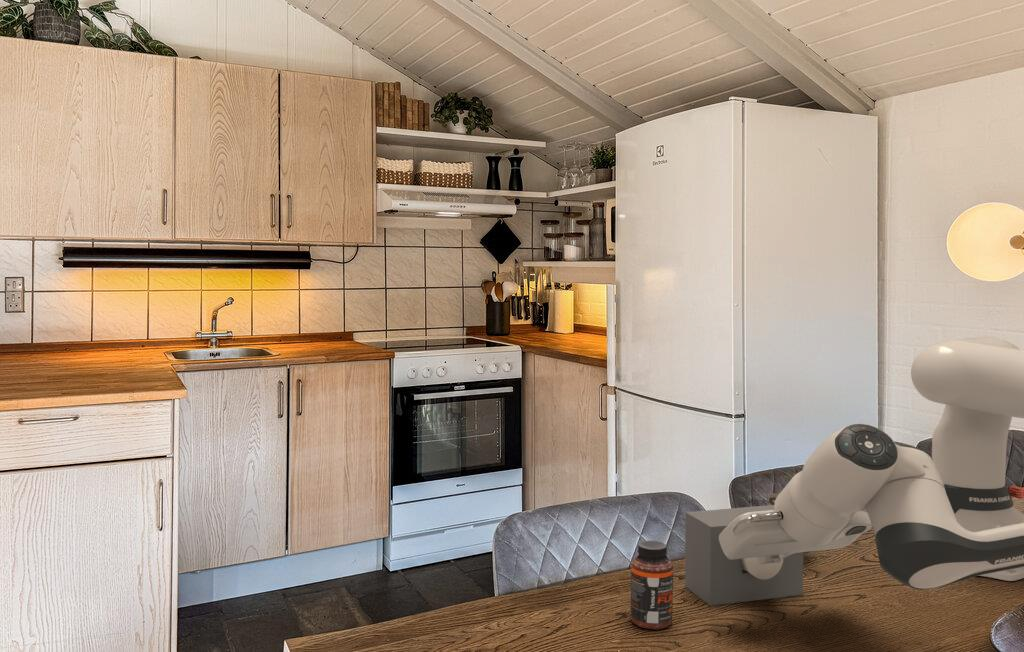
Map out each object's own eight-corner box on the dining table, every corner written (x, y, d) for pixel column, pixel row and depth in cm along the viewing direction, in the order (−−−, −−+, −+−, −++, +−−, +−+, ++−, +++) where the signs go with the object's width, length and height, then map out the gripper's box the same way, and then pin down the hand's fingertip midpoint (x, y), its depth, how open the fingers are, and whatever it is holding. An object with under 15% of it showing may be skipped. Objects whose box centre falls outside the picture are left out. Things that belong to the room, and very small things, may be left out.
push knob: (753, 559, 126) (754, 523, 126) (783, 577, 118) (783, 538, 118) (720, 563, 125) (720, 526, 124) (747, 581, 117) (748, 541, 117)
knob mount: (772, 576, 130) (773, 504, 129) (802, 594, 122) (803, 518, 121) (685, 586, 126) (685, 512, 125) (710, 605, 118) (710, 527, 117)
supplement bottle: (663, 635, 108) (664, 554, 107) (623, 625, 111) (624, 546, 111) (678, 619, 113) (679, 542, 113) (640, 610, 116) (640, 535, 116)
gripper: (752, 538, 102) (713, 586, 112) (883, 525, 108) (834, 572, 118) (733, 496, 106) (697, 545, 116) (860, 486, 112) (816, 533, 122)
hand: (767, 558), depth 117 cm, fingers closed, pressing on push knob
